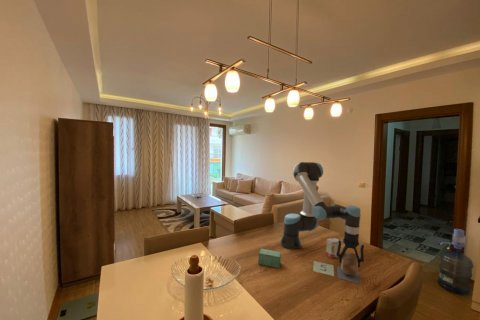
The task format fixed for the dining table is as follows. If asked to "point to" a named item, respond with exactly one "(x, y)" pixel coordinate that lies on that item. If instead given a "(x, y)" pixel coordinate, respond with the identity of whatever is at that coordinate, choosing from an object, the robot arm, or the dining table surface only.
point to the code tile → (323, 268)
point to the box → (269, 258)
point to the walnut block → (349, 263)
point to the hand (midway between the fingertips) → (348, 270)
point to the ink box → (332, 247)
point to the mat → (348, 276)
